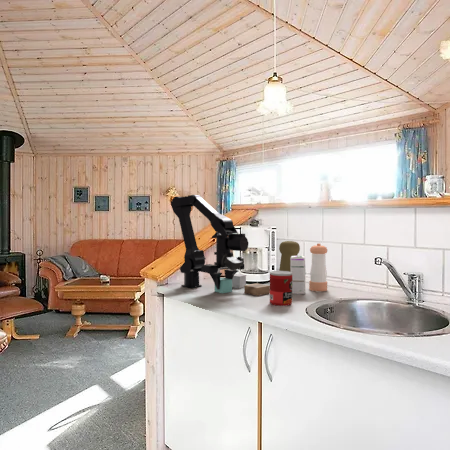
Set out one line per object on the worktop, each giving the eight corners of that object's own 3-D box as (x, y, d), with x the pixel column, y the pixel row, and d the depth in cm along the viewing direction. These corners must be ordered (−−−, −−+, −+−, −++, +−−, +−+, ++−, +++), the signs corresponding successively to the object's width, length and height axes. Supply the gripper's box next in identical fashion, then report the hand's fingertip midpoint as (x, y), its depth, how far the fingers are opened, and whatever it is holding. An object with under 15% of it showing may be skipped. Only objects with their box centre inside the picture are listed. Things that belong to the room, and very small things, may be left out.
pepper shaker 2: (325, 288, 170) (326, 242, 170) (328, 291, 163) (329, 244, 162) (308, 288, 171) (308, 242, 170) (310, 291, 164) (310, 244, 163)
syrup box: (305, 294, 158) (305, 257, 157) (290, 293, 159) (290, 256, 158) (305, 291, 163) (305, 255, 163) (290, 290, 165) (290, 255, 164)
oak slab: (244, 292, 160) (244, 285, 160) (256, 290, 165) (256, 283, 165) (257, 295, 155) (257, 287, 155) (269, 293, 160) (269, 285, 159)
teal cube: (214, 291, 163) (214, 279, 163) (223, 289, 166) (223, 277, 166) (222, 293, 159) (222, 280, 159) (232, 291, 162) (232, 279, 162)
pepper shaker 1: (303, 286, 174) (303, 242, 174) (278, 286, 174) (279, 242, 174) (299, 282, 185) (299, 240, 184) (275, 282, 185) (276, 240, 184)
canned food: (287, 307, 136) (287, 274, 136) (265, 304, 141) (265, 272, 140) (295, 302, 143) (296, 271, 143) (275, 300, 147) (275, 270, 147)
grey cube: (229, 287, 173) (229, 275, 173) (235, 285, 177) (235, 274, 177) (239, 288, 170) (239, 276, 170) (245, 286, 174) (245, 275, 174)
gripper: (219, 252, 150) (219, 294, 150) (254, 249, 162) (253, 288, 163) (200, 250, 158) (200, 290, 159) (235, 247, 171) (234, 284, 171)
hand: (223, 288), depth 163 cm, fingers closed on teal cube, 5 cm apart
